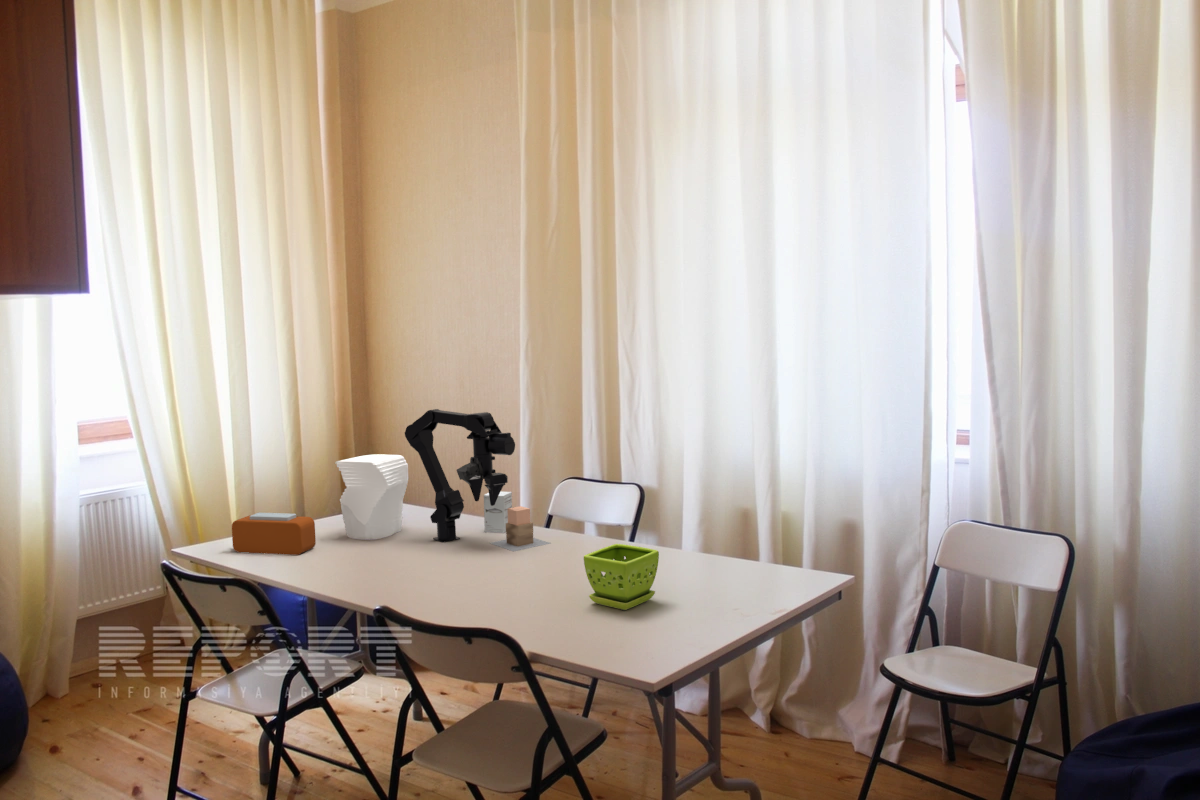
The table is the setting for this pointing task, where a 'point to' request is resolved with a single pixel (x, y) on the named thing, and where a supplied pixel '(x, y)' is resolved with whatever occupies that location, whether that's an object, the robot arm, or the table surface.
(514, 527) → the tower top
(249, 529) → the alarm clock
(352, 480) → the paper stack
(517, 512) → the terracotta block
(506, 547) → the felt mat
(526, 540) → the block
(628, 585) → the flower pot
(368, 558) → the table surface
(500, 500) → the supplement box
